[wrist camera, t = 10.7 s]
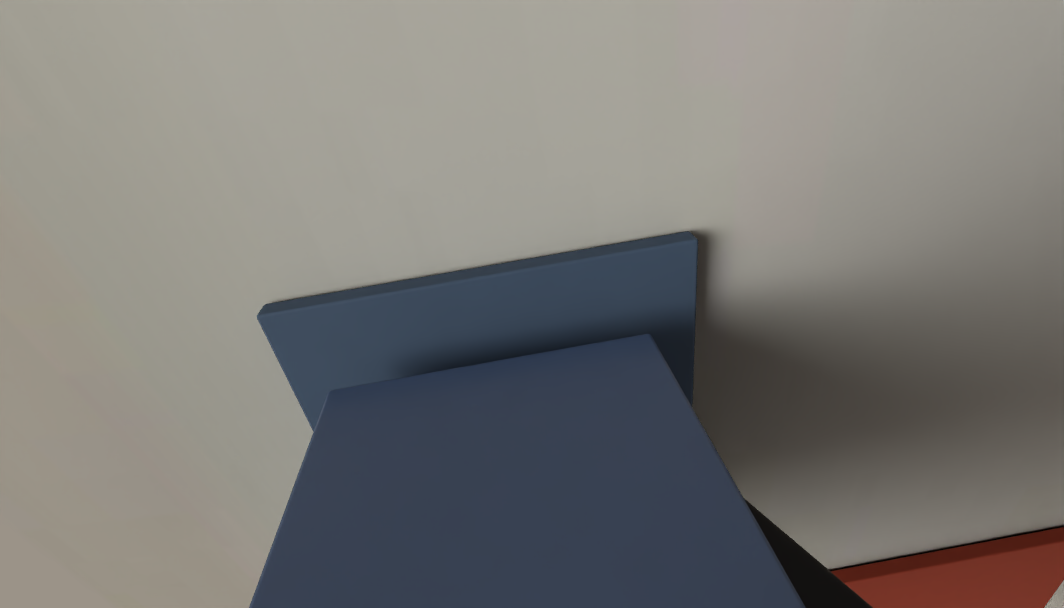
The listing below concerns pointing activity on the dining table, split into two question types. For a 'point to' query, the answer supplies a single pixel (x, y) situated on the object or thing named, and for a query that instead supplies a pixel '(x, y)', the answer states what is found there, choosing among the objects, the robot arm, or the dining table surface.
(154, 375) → the dining table surface
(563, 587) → the slate block
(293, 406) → the dining table surface
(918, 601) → the mat
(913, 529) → the dining table surface
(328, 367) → the slate mat
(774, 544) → the robot arm
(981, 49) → the dining table surface
